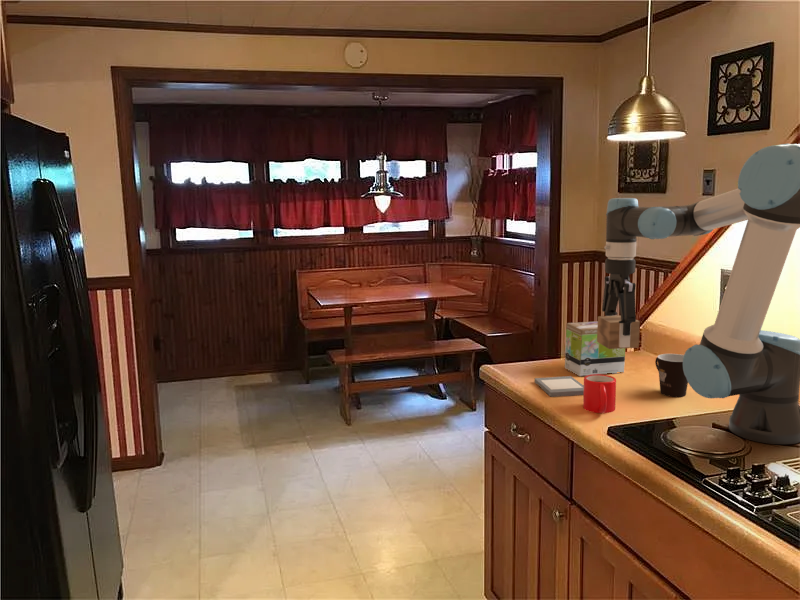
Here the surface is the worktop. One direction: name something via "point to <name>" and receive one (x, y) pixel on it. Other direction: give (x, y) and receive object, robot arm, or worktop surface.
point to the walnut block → (615, 332)
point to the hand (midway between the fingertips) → (617, 343)
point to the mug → (599, 393)
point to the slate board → (560, 386)
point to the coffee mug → (671, 375)
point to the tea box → (590, 351)
